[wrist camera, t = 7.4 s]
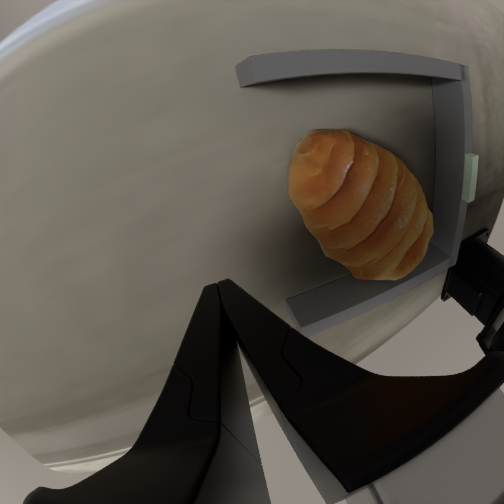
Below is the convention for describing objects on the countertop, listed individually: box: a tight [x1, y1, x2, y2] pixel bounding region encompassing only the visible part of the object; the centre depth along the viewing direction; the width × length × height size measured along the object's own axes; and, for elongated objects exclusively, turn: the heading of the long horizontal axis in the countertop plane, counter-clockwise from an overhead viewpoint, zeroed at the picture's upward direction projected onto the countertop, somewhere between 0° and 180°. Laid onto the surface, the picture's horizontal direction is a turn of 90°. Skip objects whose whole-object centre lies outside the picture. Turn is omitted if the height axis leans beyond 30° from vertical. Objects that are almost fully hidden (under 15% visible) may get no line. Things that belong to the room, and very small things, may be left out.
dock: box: [235, 49, 479, 337], centre depth 13 cm, size 13×14×3 cm
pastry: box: [288, 129, 434, 281], centre depth 13 cm, size 9×7×4 cm
